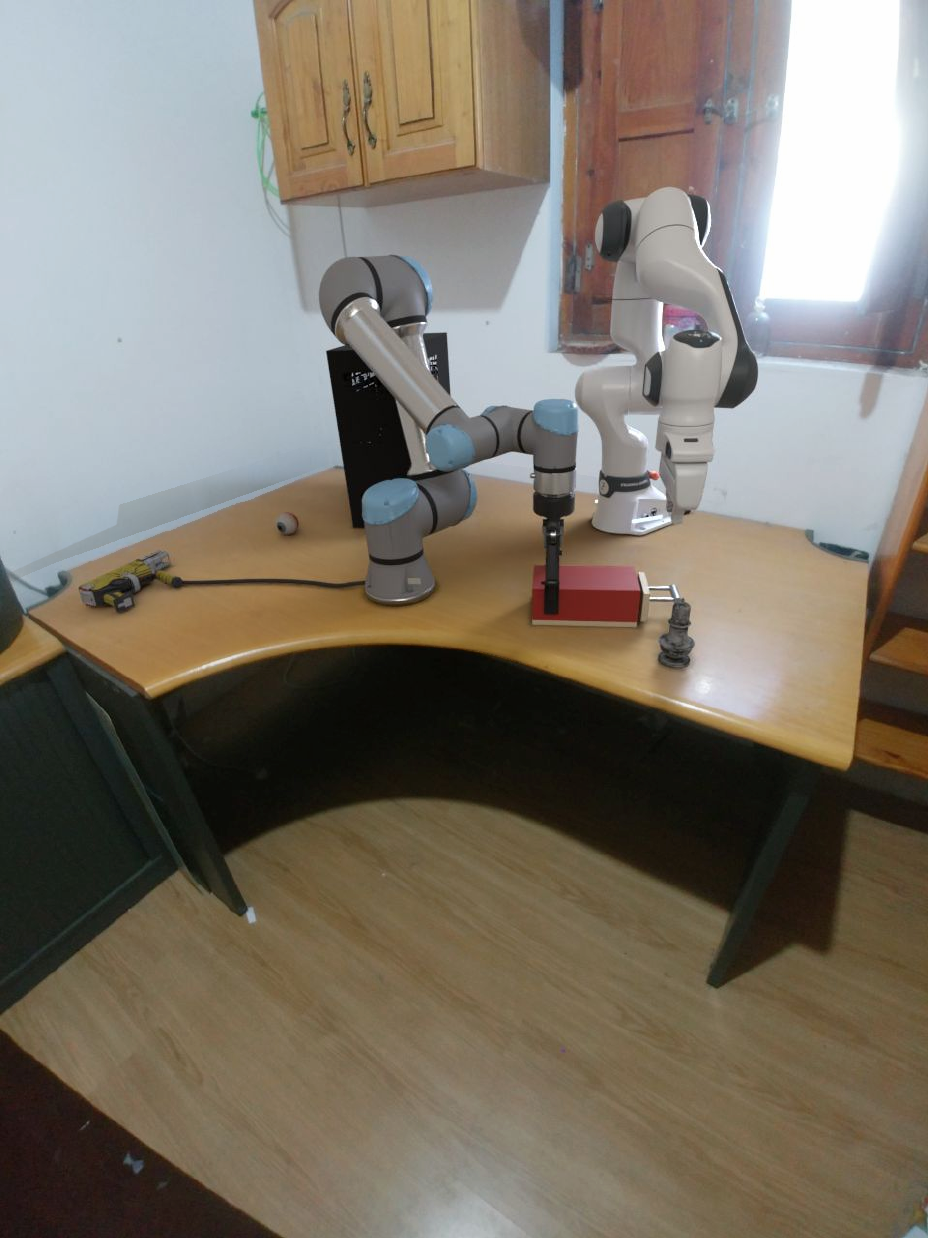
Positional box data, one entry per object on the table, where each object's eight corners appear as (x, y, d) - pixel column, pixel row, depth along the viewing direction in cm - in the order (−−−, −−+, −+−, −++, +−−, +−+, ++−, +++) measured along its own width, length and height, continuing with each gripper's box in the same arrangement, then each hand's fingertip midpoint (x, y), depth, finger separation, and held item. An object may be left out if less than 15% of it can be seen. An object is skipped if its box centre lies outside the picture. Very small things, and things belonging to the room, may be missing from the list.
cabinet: (630, 600, 123) (634, 566, 119) (636, 627, 114) (640, 590, 110) (533, 599, 126) (534, 565, 122) (532, 624, 117) (532, 588, 113)
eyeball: (273, 537, 164) (268, 516, 161) (287, 528, 169) (282, 508, 166) (291, 539, 161) (286, 518, 158) (305, 530, 166) (301, 510, 163)
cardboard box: (422, 529, 163) (406, 348, 140) (352, 527, 167) (325, 350, 145) (456, 486, 194) (446, 332, 172) (396, 484, 199) (379, 334, 176)
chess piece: (694, 669, 101) (704, 607, 95) (657, 667, 102) (665, 605, 96) (690, 650, 106) (699, 590, 100) (655, 648, 107) (662, 588, 101)
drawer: (672, 599, 121) (676, 572, 118) (680, 622, 113) (684, 594, 110) (548, 596, 124) (549, 570, 121) (547, 619, 117) (548, 591, 114)
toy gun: (206, 558, 145) (156, 547, 149) (127, 600, 125) (71, 586, 129) (209, 576, 148) (160, 565, 152) (132, 620, 128) (77, 606, 132)
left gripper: (535, 472, 119) (534, 573, 130) (530, 513, 99) (530, 628, 110) (573, 471, 118) (569, 573, 129) (576, 513, 98) (571, 629, 109)
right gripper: (655, 424, 110) (647, 497, 117) (673, 454, 93) (663, 538, 100) (691, 423, 109) (681, 497, 116) (716, 454, 92) (703, 538, 99)
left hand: (551, 599), depth 119 cm, fingers closed on cabinet, 10 cm apart
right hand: (673, 516), depth 108 cm, fingers open, 4 cm apart
